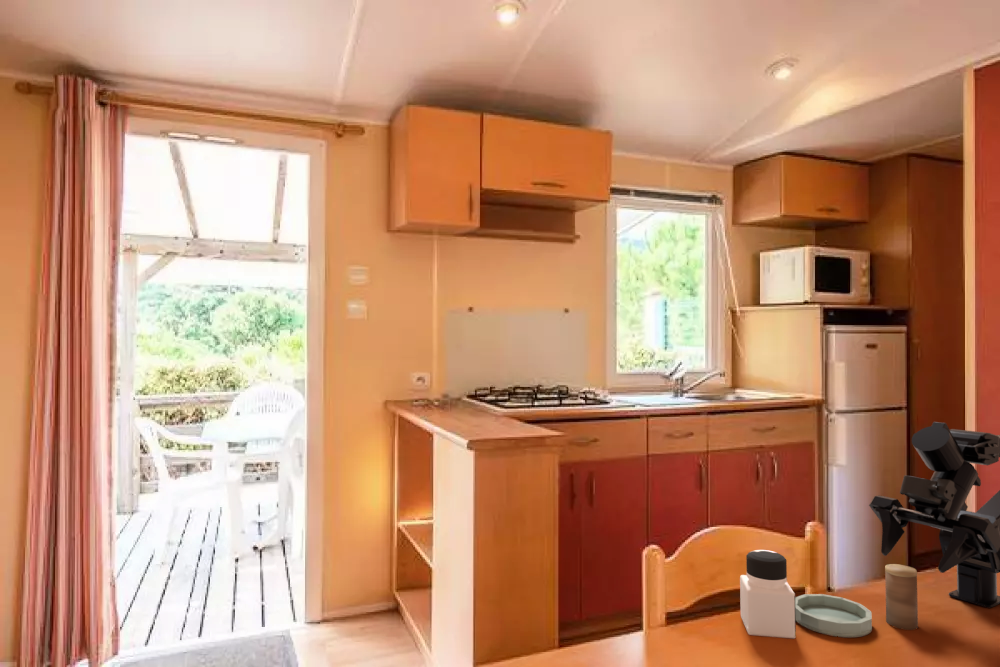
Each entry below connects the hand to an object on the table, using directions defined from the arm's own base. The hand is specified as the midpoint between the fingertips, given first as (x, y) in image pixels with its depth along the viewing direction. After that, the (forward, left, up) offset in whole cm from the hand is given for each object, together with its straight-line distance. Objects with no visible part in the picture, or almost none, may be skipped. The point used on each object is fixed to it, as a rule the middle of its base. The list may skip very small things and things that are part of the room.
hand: (910, 562), depth 105 cm
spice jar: (+3, 0, -10) cm, 10 cm away
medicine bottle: (+23, -11, -10) cm, 27 cm away
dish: (+12, -7, -10) cm, 17 cm away
